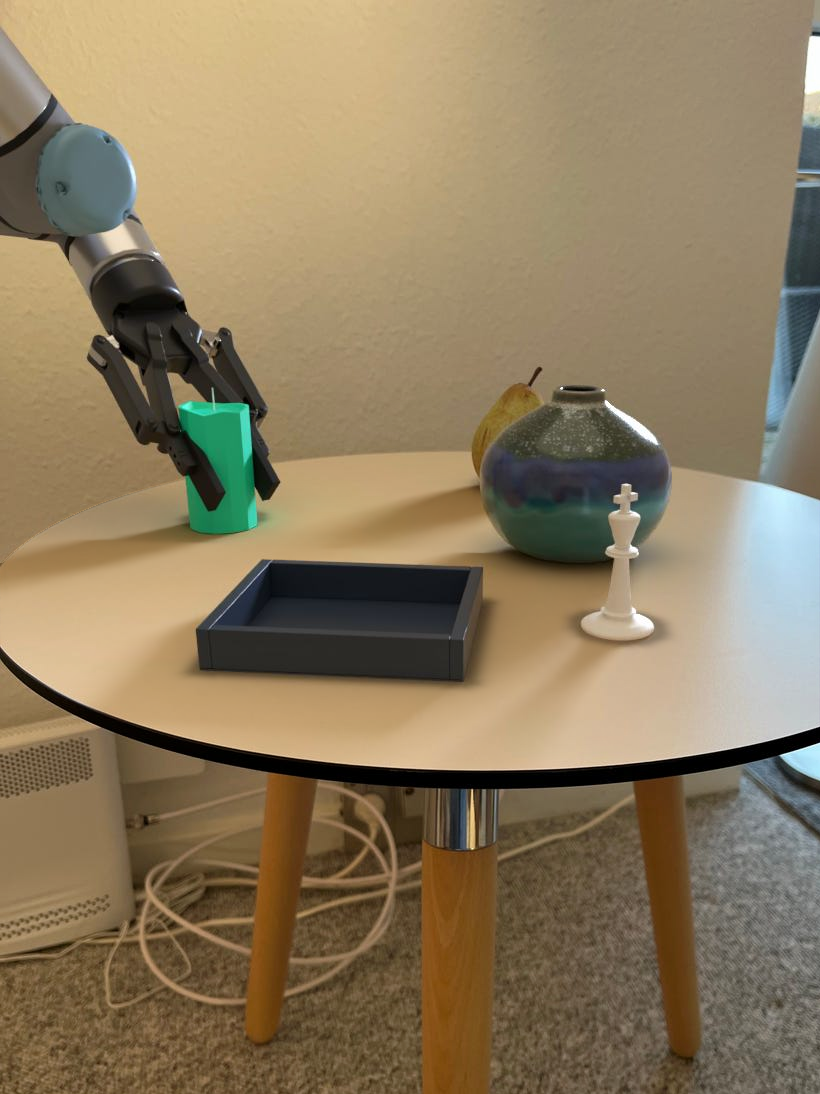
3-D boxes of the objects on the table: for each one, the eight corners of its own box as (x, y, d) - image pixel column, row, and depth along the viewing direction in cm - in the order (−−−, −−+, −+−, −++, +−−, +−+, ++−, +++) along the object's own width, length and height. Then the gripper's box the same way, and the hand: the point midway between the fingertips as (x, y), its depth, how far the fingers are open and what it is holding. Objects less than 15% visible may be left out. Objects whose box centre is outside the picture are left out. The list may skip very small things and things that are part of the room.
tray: (199, 677, 60) (194, 628, 59) (264, 600, 72) (261, 558, 71) (463, 689, 59) (463, 639, 57) (482, 608, 71) (483, 566, 70)
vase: (705, 563, 81) (722, 394, 76) (547, 594, 74) (554, 410, 69) (590, 519, 94) (598, 371, 89) (444, 542, 86) (444, 382, 81)
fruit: (463, 493, 102) (463, 371, 98) (482, 474, 111) (484, 361, 106) (548, 499, 101) (552, 375, 96) (561, 479, 109) (566, 363, 104)
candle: (174, 527, 90) (160, 388, 85) (224, 512, 95) (212, 380, 90) (224, 537, 87) (211, 395, 82) (272, 522, 92) (263, 386, 87)
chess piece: (563, 630, 67) (570, 482, 64) (617, 615, 70) (626, 472, 66) (616, 653, 64) (626, 498, 60) (670, 636, 67) (683, 487, 63)
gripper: (203, 310, 100) (312, 503, 96) (23, 319, 89) (137, 540, 84) (228, 254, 95) (345, 456, 90) (39, 255, 83) (162, 488, 79)
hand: (244, 496), depth 87 cm, fingers closed on candle, 5 cm apart
